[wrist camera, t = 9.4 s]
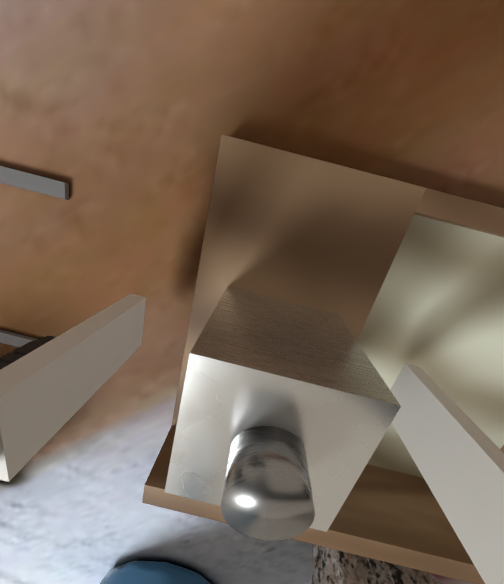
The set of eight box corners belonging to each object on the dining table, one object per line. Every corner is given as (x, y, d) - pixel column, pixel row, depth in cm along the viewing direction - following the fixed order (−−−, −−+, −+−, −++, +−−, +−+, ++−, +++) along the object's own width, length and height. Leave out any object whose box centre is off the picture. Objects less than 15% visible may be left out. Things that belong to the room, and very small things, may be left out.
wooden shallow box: (225, 141, 11) (191, 85, 6) (687, 261, 11) (997, 298, 6) (174, 429, 17) (137, 513, 12) (473, 503, 17) (550, 614, 12)
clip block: (227, 286, 12) (167, 392, 5) (339, 315, 12) (437, 460, 5) (206, 379, 14) (143, 549, 7) (303, 403, 14) (337, 596, 7)
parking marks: (-28, 158, 12) (-34, 157, 12) (68, 183, 12) (64, 182, 12) (-3, 338, 15) (-7, 340, 15) (72, 357, 15) (69, 359, 15)
